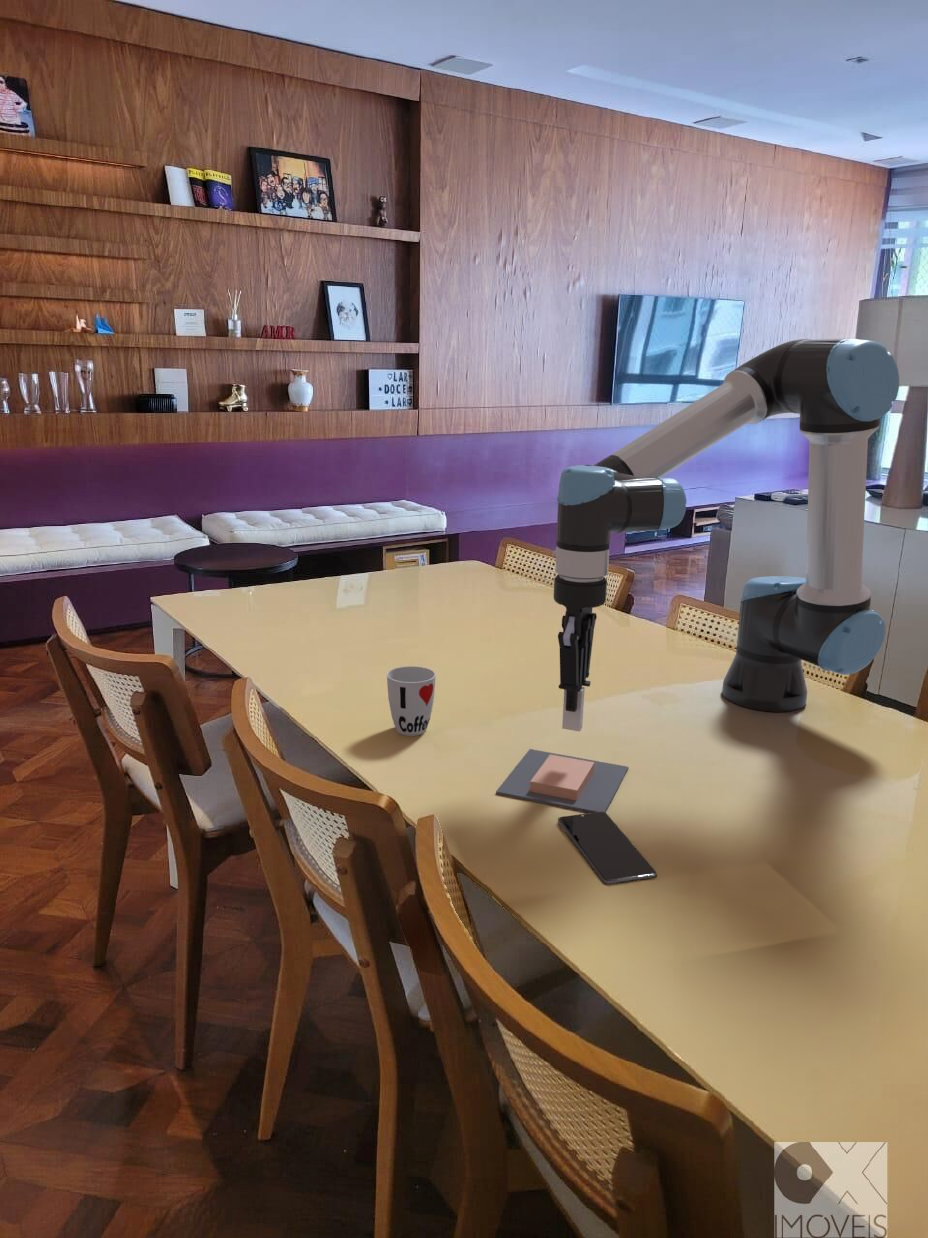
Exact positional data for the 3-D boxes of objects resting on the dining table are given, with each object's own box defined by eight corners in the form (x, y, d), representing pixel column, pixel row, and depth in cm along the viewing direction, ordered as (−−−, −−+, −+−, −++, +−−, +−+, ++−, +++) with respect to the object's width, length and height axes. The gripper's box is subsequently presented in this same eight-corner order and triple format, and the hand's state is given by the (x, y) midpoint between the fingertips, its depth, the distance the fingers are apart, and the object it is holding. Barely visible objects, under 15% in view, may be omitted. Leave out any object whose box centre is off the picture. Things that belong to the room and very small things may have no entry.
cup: (392, 741, 149) (391, 684, 146) (383, 722, 156) (382, 667, 153) (440, 737, 151) (440, 680, 148) (428, 718, 158) (429, 664, 156)
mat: (628, 769, 141) (628, 766, 141) (604, 815, 126) (604, 813, 126) (529, 751, 146) (529, 748, 146) (495, 793, 132) (496, 791, 132)
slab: (594, 762, 138) (577, 790, 129) (593, 772, 139) (576, 800, 130) (550, 754, 141) (530, 781, 132) (549, 763, 141) (529, 791, 132)
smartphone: (605, 882, 110) (556, 816, 124) (604, 890, 110) (555, 823, 125) (660, 874, 112) (605, 810, 126) (659, 881, 112) (604, 817, 127)
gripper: (567, 563, 137) (560, 709, 144) (542, 583, 126) (535, 740, 132) (616, 569, 135) (606, 716, 141) (595, 589, 123) (585, 749, 130)
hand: (572, 728), depth 137 cm, fingers closed
